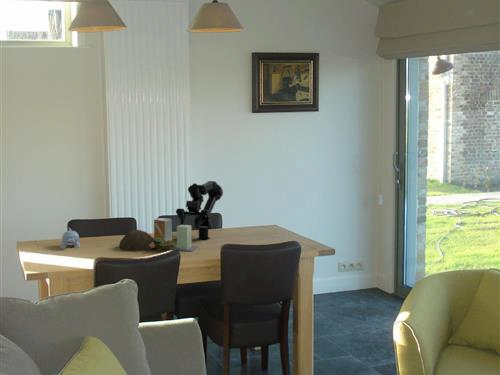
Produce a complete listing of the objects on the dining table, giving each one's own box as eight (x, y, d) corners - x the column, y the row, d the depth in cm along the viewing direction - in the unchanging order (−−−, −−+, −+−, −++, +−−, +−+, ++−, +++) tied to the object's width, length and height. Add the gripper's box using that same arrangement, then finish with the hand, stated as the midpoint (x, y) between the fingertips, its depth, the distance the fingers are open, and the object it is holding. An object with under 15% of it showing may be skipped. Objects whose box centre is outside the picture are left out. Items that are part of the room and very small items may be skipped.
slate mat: (176, 246, 403) (176, 244, 403) (197, 247, 401) (197, 245, 401) (170, 250, 392) (170, 249, 391) (191, 251, 389) (191, 250, 389)
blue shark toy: (60, 250, 391) (60, 232, 389) (59, 244, 405) (59, 227, 404) (81, 249, 394) (80, 231, 392) (79, 243, 408) (79, 227, 407)
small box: (153, 242, 414) (153, 219, 412) (161, 240, 419) (161, 217, 417) (164, 243, 409) (164, 220, 408) (172, 241, 415) (171, 219, 413)
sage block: (181, 246, 400) (181, 224, 398) (191, 246, 398) (191, 225, 397) (177, 248, 394) (176, 226, 393) (187, 249, 392) (187, 227, 391)
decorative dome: (114, 246, 403) (114, 228, 402) (148, 243, 412) (148, 225, 411) (125, 252, 386) (124, 234, 385) (160, 249, 395) (160, 231, 394)
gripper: (176, 194, 407) (169, 216, 398) (208, 195, 402) (201, 218, 393) (182, 206, 416) (175, 228, 407) (213, 207, 410) (206, 230, 401)
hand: (189, 226), depth 401 cm, fingers open, 9 cm apart
